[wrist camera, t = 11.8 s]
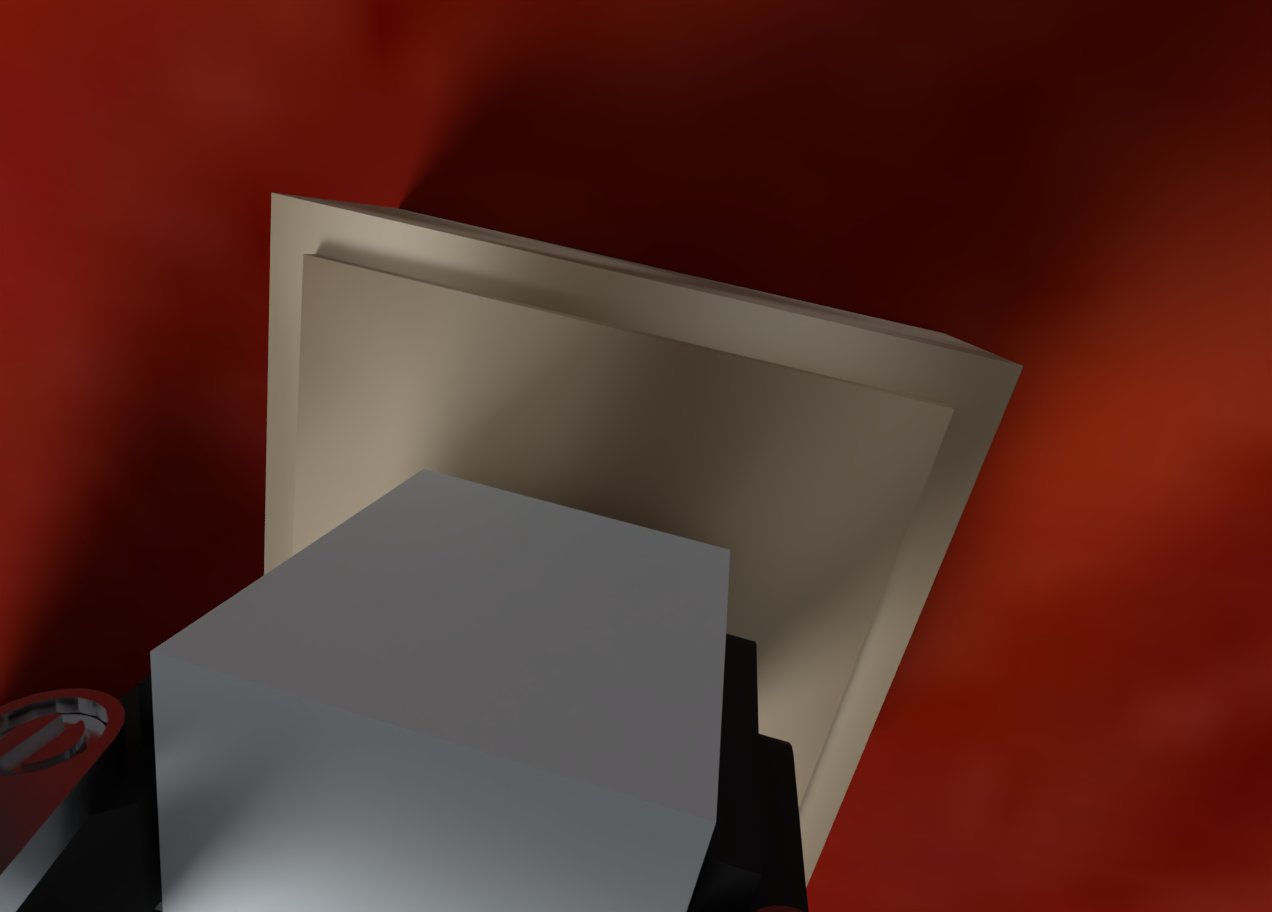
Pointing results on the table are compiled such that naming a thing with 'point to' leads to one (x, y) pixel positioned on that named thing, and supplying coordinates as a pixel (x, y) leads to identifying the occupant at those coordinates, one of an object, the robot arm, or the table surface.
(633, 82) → the table surface
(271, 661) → the block
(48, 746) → the robot arm
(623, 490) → the plinth
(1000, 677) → the table surface
